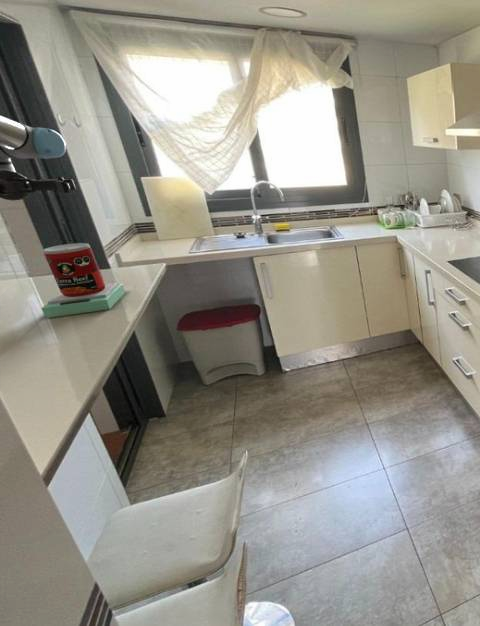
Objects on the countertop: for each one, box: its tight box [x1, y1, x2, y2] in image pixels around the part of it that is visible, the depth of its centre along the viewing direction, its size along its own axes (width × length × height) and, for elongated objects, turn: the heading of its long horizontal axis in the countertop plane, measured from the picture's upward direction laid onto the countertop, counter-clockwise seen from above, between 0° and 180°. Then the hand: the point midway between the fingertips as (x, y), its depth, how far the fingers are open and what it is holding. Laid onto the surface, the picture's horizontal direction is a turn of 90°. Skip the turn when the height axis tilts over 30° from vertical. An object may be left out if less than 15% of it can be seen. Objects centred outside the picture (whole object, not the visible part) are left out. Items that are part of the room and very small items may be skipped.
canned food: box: [42, 242, 106, 297], centre depth 108 cm, size 8×8×11 cm
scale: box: [41, 282, 126, 319], centre depth 110 cm, size 11×14×3 cm
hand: (25, 190), depth 108 cm, fingers open, 13 cm apart
